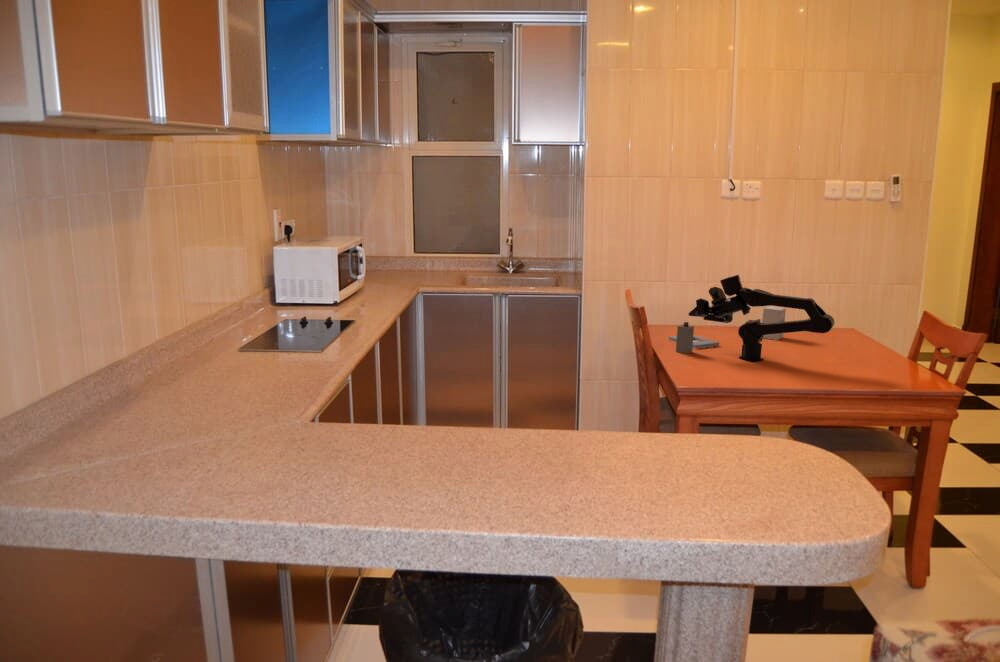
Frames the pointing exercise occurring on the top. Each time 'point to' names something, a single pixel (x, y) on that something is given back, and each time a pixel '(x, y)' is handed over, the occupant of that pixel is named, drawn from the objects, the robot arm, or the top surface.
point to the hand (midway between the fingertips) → (696, 316)
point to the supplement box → (773, 319)
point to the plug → (684, 338)
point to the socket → (698, 342)
